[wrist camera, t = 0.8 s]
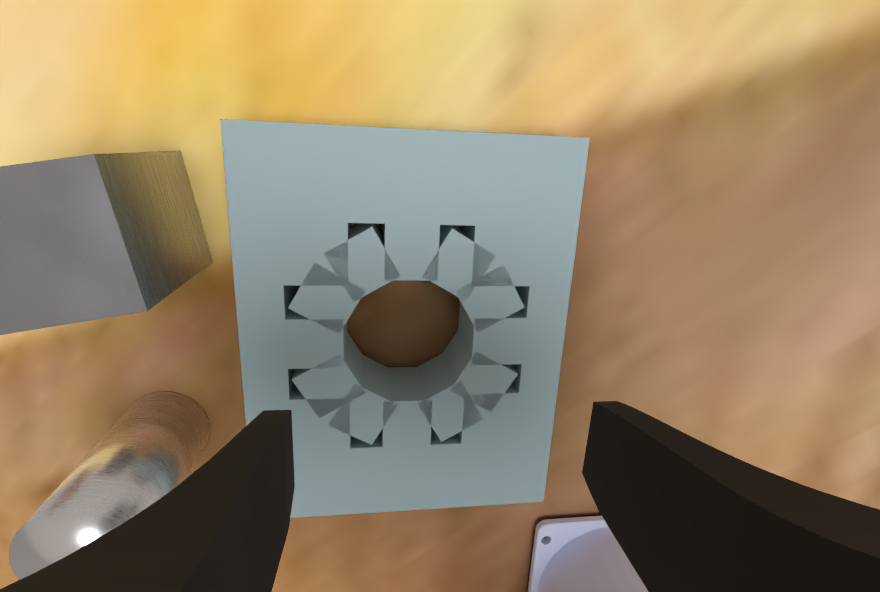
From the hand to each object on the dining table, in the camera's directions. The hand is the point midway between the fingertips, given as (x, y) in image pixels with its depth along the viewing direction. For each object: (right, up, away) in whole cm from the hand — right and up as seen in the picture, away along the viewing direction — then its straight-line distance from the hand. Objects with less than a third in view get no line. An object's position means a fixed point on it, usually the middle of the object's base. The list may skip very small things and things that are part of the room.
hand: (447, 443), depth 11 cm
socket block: (-2, +3, +9) cm, 10 cm away
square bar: (-11, +6, +7) cm, 15 cm away
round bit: (-12, -2, +9) cm, 15 cm away
